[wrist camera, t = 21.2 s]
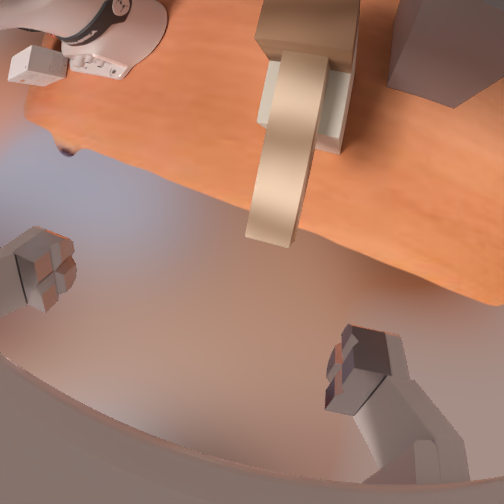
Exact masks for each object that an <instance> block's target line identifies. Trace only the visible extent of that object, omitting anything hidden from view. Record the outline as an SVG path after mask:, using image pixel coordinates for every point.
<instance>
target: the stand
mask: <svg viewBox="0 0 504 504" xmlns="http://www.w3.org/2000/svg"><path fill="white" fill-rule="evenodd" d="M358 28H359V24H358ZM357 43H358V31H357V38H356V44H355V51H354V57H353V64H352V70H351V74H349V73H344V72H339V71H334V70H330V74H329V79H328V85H327V90H326V95H325V100H324V106H323V111H322V116H321V121H320V126H319V131H318V136H317V141H316V146H315V149H317V150H321V151H326V152H330V153H334V154H338V155H340V151H341V146H342V141H343V136H344V131H345V126H346V121H347V115H348V110H349V104H350V99H351V93H352V87H353V81H354V75H355V66H356V55H357ZM279 67H280V62H277V61H269V66H268V70H267V75H266V80H265V84H264V89H263V94H262V99H261V103H260V108H259V113H258V118H257V123H258V124H260V125H261V126H263V127H264V128H266V129H267V124H268V120H269V115H270V110H271V105H272V100H273V96H274V91H275V86H276V81H277V76H278V72H279Z"/></svg>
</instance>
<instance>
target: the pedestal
mask: <svg viewBox="0 0 504 504" xmlns="http://www.w3.org/2000/svg"><path fill="white" fill-rule="evenodd" d="M503 77H504V0H400V2H399V5H398V9H397V13H396V16H395V20H394V25H393V36H392V46H391V55H390V63H389V71H388V78H387V85H386V87H389V88H393V89H396V90H400V91H403V92H406V93H410V94H413V95H416V96H419V97H422V98H425V99H428V100H431V101H434V102H437V103H440V104H443V105H446V106H448V107H451V108H455V107H457V106H459V105H460V104H462V103H463V102H465V101H466V100H468V99H470V98H471V97H473V96H474V95H476V94H477V93H479V92H481V91H482V90H484V89H485V88H487V87H489V86H490V85H492V84H493V83H495V82H497V81H498V80H500V79H501V78H503Z"/></svg>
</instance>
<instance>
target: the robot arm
mask: <svg viewBox="0 0 504 504" xmlns="http://www.w3.org/2000/svg"><path fill="white" fill-rule="evenodd" d="M166 25H167V12H166V9H165V7H164V6H163V5H162V4H161V3H160V2H158V1H157V0H0V30H3V29H8V28H29V29H34V30H39V31H43V32H47V33H50V36H51V35H52V34H53V37H55V35H56V36H57V37H58V38H59V39H60V40H61V41H62V44H61V51H62V54H63V56H65V57H68V58H70V68H71V70H72V71H74V72H79V73H84V74H90V75H95V76H101V77H106V78H111V79H116V80H121V79H123V78H124V77H125V76H126V75H127V74H128V72H129V71H130V70H131V69H132V67H133V66H134V65H136V64H137V63H139V62H140V61H142V60H143V59H144V58H145V57H147V56H148V55H149V54H150V53H151V52H152V51H153V50H154V48H155V47H156V46H157V45H158V43H159V42H160V40H161V38H162V36H163V34H164V32H165V29H166ZM115 71H116V72H115ZM73 253H74V245H73V242H72V241H71V240H70V239H69V238H67V237H64V236H62V235H59V234H56V233H54V232H52V231H49V230H46V229H44V228H41V227H38V226H36V227H32V228H30V229H29V230H27V231H26V232H24V233H23V234H21V235H20V236H19V237H17V238H16V239H14V240H13V241H11V242H10V243H8V244H7V245H5V246H4V247H3V248H1V247H0V317H2V316H4V315H6V314H9V313H11V312H12V311H15V310H17V309H19V308H21V307H24V306H26V305H27V304H29V305H31V306H33V307H35V308H37V309H39V310H41V311H43V312H45V313H46V312H47V311H48V310H49V309H50V308H51V307H52V306H53V305H54V304H55V303H56V302H57V301H58V298H59V294H62V293H65V292H67V291H68V290H69V289H70V288H71V287H72V285H73V283H74V281H75V279H76V272H77V269H76V263H75V262H74V260H73V258H72V255H73ZM341 336H342V342H341V343H339V344H337V345H336V346H335V347H334V349H333V351H332V353H331V356H330V359H329V362H328V366H327V375H326V378H327V379H328V381H329V382H330V384H329V386H328V388H327V389H326V396H325V410H327V411H331V412H336V413H341V414H346V415H351V416H354V420H355V422H356V424H357V426H358V428H359V430H360V431H361V433H362V435H363V437H364V439H365V441H366V443H367V445H368V447H369V449H370V451H371V452H372V454H373V457H374V459H375V461H376V463H377V464H378V466H379V468H380V470H378V471H377V472H376V473H374V474H373V475H371V476H370V477H369V478H367V479H366V480H365V481H363V483H353V482H341V481H332V480H324V479H316V478H309V477H303V476H296V475H291V474H285V473H280V472H275V471H270V470H265V469H261V468H256V467H252V466H247V465H244V464H240V463H235V462H232V461H228V460H225V459H221V458H217V457H214V456H211V455H207V454H204V453H200V452H198V451H195V450H192V449H188V448H186V447H182V446H180V445H177V444H174V443H171V442H169V441H166V440H163V439H160V438H158V437H155V436H153V435H150V434H148V433H145V432H143V431H140V430H138V429H136V428H133V427H130V426H129V425H126V424H124V423H122V422H120V421H117V420H115V419H113V418H111V417H109V416H107V415H105V414H102V413H100V412H98V411H96V410H94V409H92V408H90V407H88V406H86V405H85V404H83V403H81V402H79V401H77V400H75V399H73V398H71V397H70V396H68V395H66V394H64V393H62V392H61V391H59V390H57V389H55V388H54V387H52V386H50V385H49V384H47V383H45V382H44V381H42V380H40V379H39V378H37V377H35V376H34V375H32V374H31V373H29V372H28V371H26V370H25V369H23V368H22V367H20V366H19V365H17V364H16V363H14V362H13V361H11V360H10V359H8V358H7V357H6V356H4V355H3V354H1V353H0V504H504V476H502V477H495V478H489V479H482V480H474V481H470V476H469V469H468V463H467V457H466V451H465V446H464V441H463V439H462V438H461V436H460V435H459V434H458V433H457V432H456V430H455V429H454V428H453V426H452V425H451V424H450V423H449V421H448V420H447V419H446V418H445V416H444V415H443V414H442V413H441V412H440V410H439V409H438V408H437V407H436V405H435V404H434V403H433V402H432V401H431V399H430V398H429V397H428V396H427V395H426V393H425V392H424V391H423V390H422V388H421V387H420V386H419V385H418V384H417V383H416V381H415V380H410V376H409V371H408V366H407V361H406V357H405V352H404V348H403V343H402V339H401V337H400V335H398V334H394V333H389V332H384V331H382V332H381V331H377V330H373V329H369V328H364V327H361V326H356V325H352V324H348V325H347V326H346V327H345V329H344V330H343V332H342V334H341Z"/></svg>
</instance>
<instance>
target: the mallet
mask: <svg viewBox="0 0 504 504" xmlns="http://www.w3.org/2000/svg"><path fill="white" fill-rule="evenodd" d="M359 15H360V0H264V1H263V5H262V9H261V13H260V17H259V21H258V25H257V30H256V34H255V38H254V39H255V40H256V41H257V43H258V44H259V46H260V47H261V49H262V50H263V51H264V53H265V54H266V56H267V57H268V59H269V60H270V61H277V62H280V67H279V72H278V76H277V81H276V86H275V91H274V96H273V100H272V105H271V110H270V115H269V120H268V124H267V129H266V134H265V139H264V144H263V149H262V154H261V158H260V163H259V168H258V173H257V178H256V183H255V188H254V193H253V198H252V203H251V208H250V213H249V218H248V223H247V228H246V233H245V237H248V238H252V239H256V240H260V241H264V242H268V243H271V244H275V245H279V246H283V247H287V248H289V247H290V246H291V245H292V243H293V242H294V241H295V236H296V232H297V228H298V224H299V219H300V215H301V210H302V206H303V202H304V197H305V193H306V188H307V183H308V179H309V174H310V170H311V165H312V160H313V155H314V151H315V146H316V141H317V136H318V131H319V126H320V121H321V116H322V111H323V106H324V100H325V95H326V90H327V85H328V79H329V74H330V70H334V71H339V72H344V73H349V74H351V70H352V64H353V57H354V51H355V44H356V38H357V31H358V24H359Z"/></svg>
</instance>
